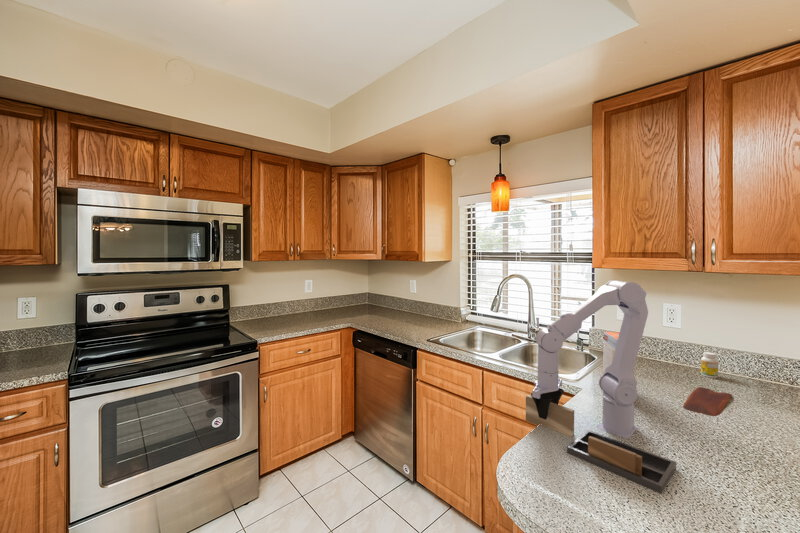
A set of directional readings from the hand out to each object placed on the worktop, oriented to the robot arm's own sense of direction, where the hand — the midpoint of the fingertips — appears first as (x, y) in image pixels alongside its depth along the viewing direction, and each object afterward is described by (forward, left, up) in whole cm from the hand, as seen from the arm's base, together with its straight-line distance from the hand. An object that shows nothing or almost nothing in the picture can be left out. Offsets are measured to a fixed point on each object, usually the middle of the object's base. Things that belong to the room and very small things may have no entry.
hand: (547, 415), depth 103 cm
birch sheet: (0, 0, -4) cm, 4 cm away
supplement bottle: (-92, +24, -4) cm, 95 cm away
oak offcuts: (+7, +20, -3) cm, 21 cm away
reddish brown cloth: (-59, +28, -5) cm, 66 cm away
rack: (+3, +20, -4) cm, 21 cm away
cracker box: (-47, +4, -4) cm, 47 cm away
